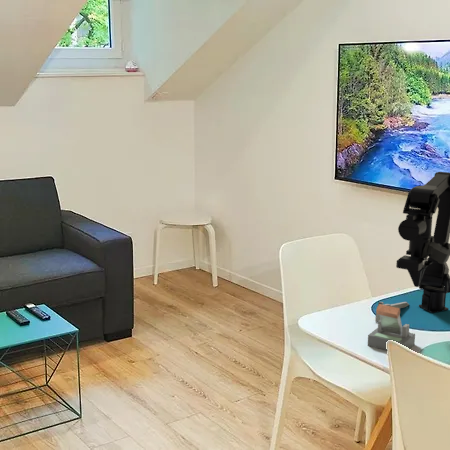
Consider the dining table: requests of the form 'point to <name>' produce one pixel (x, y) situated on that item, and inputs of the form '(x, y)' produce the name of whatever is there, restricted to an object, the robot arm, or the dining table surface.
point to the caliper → (397, 305)
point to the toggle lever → (390, 319)
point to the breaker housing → (390, 337)
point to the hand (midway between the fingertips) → (416, 286)
